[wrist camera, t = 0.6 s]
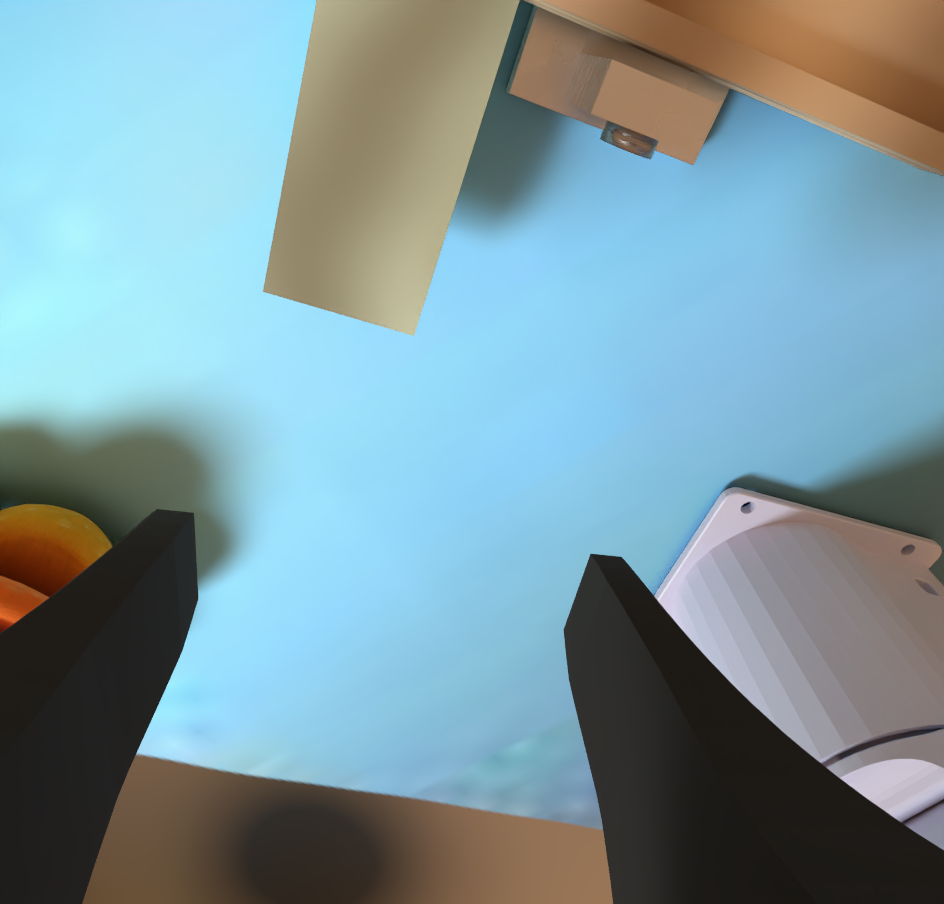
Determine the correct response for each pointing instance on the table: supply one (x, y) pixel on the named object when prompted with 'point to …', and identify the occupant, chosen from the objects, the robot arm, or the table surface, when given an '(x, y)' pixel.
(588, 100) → the mount
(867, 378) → the table surface
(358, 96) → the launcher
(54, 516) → the colorful rounded pieces cluster
